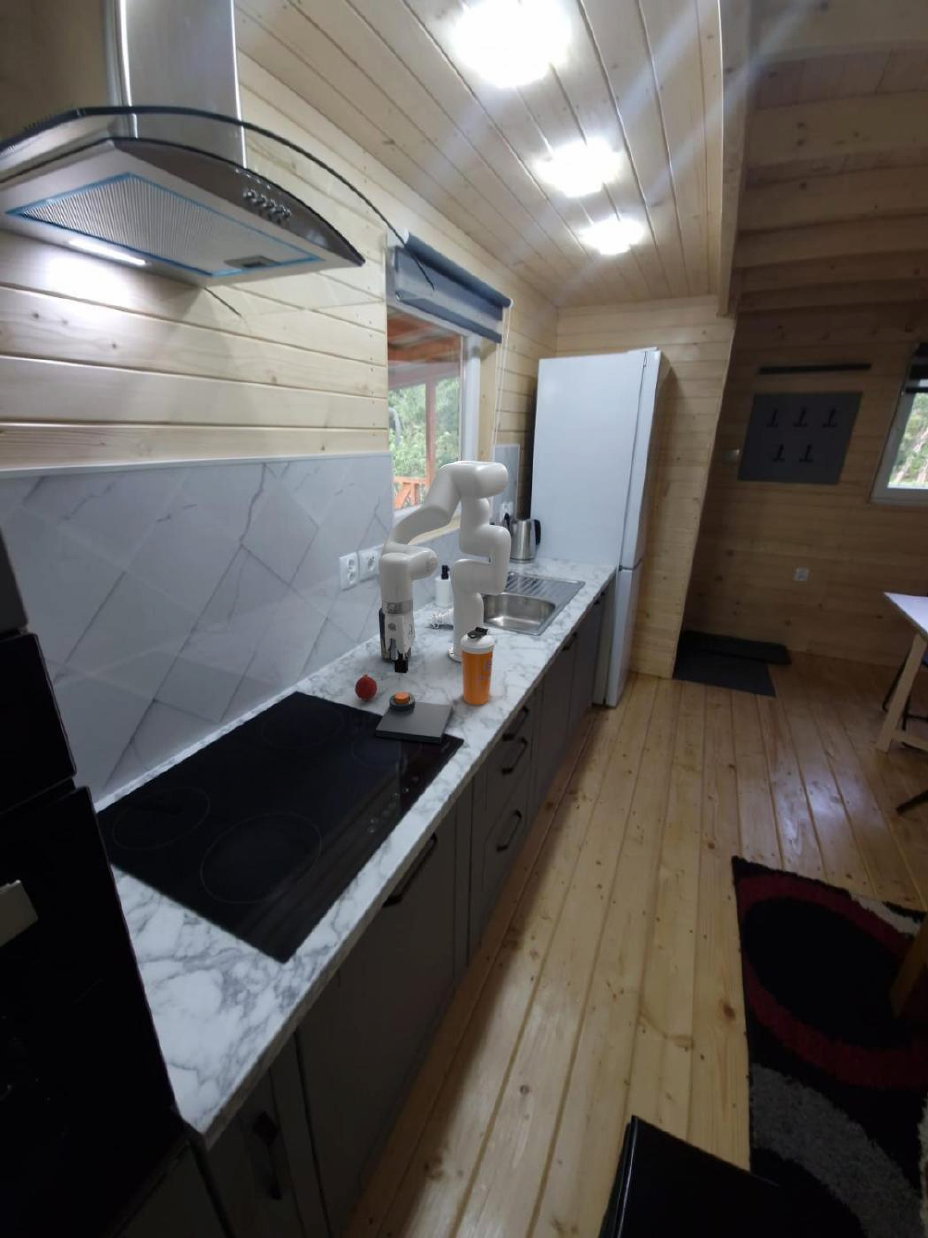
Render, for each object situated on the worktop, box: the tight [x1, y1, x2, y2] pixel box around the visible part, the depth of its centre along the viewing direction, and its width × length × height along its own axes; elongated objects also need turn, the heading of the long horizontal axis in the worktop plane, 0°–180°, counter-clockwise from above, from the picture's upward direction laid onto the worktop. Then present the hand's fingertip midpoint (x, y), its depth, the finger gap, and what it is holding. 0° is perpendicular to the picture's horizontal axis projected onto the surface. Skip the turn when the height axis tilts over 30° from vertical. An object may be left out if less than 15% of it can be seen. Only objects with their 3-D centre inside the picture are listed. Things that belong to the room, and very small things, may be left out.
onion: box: [354, 673, 378, 702], centre depth 133 cm, size 6×6×8 cm
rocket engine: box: [426, 607, 453, 629], centre depth 181 cm, size 12×12×18 cm
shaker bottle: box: [461, 627, 495, 706], centre depth 132 cm, size 9×9×20 cm
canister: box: [378, 606, 412, 663], centre depth 155 cm, size 10×10×18 cm
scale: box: [375, 692, 453, 745], centre depth 124 cm, size 15×16×4 cm
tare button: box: [394, 691, 410, 704], centre depth 128 cm, size 4×4×2 cm
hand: (401, 671), depth 126 cm, fingers closed
